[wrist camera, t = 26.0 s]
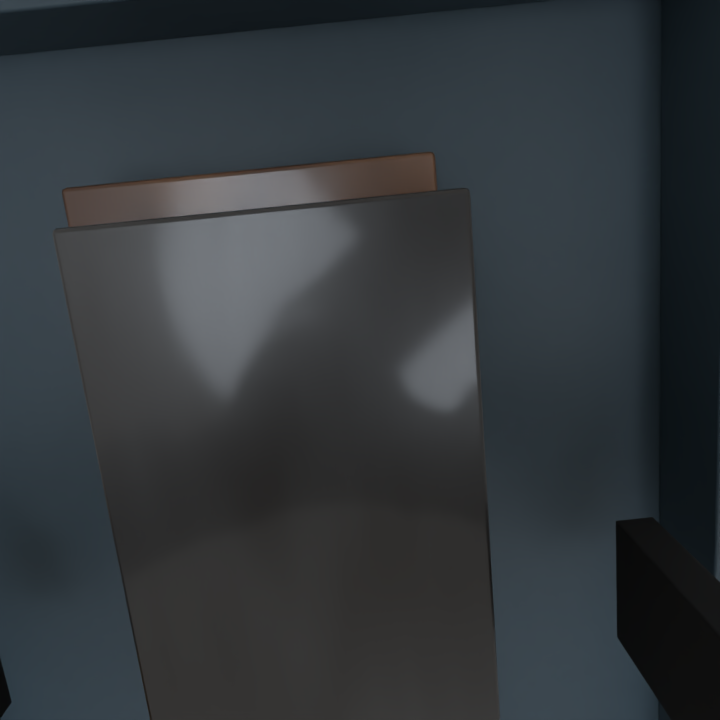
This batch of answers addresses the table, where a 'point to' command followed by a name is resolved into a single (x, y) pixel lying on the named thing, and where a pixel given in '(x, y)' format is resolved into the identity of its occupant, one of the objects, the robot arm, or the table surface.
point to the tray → (492, 280)
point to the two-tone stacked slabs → (291, 437)
